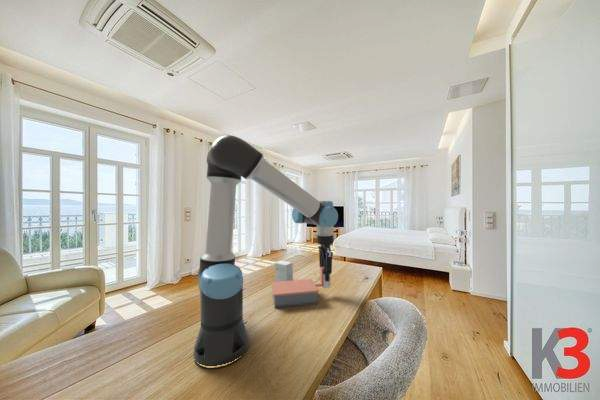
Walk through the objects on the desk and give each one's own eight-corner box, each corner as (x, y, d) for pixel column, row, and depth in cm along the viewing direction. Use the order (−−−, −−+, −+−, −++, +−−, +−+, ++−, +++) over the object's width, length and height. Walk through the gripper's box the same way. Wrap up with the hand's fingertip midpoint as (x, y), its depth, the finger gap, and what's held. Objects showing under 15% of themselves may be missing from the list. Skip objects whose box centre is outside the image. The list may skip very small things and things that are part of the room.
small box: (293, 282, 112) (293, 262, 112) (286, 285, 107) (286, 265, 107) (281, 279, 116) (281, 260, 116) (274, 282, 111) (274, 262, 111)
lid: (273, 296, 84) (273, 276, 84) (271, 283, 97) (271, 266, 97) (334, 290, 89) (334, 272, 89) (325, 279, 102) (324, 263, 102)
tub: (274, 308, 85) (274, 295, 85) (272, 295, 96) (272, 284, 96) (317, 303, 88) (317, 291, 88) (310, 291, 100) (310, 281, 100)
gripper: (339, 237, 88) (339, 292, 89) (327, 231, 104) (327, 279, 104) (322, 238, 87) (322, 294, 87) (312, 232, 102) (312, 280, 102)
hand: (325, 286), depth 95 cm, fingers closed on lid, 2 cm apart
